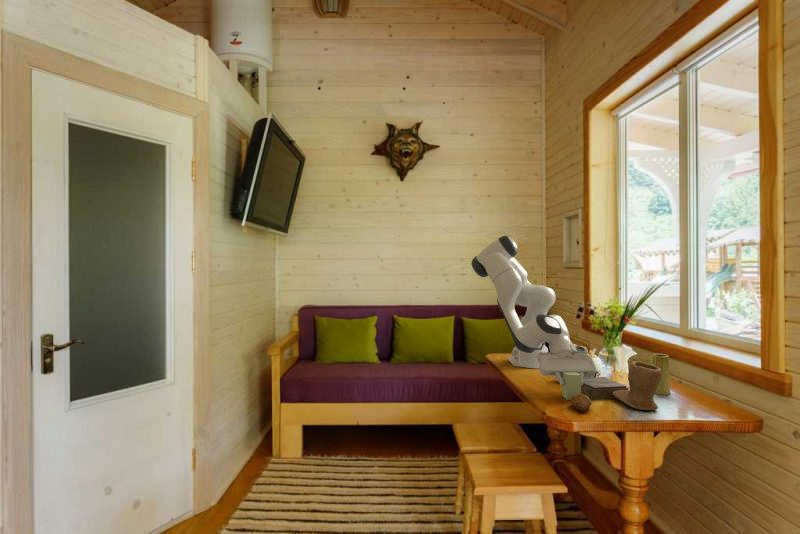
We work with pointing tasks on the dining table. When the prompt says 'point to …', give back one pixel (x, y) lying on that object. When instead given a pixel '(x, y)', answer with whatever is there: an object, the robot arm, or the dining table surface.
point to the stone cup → (641, 386)
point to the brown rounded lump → (581, 402)
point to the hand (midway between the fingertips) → (572, 384)
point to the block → (571, 384)
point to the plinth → (600, 387)
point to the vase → (663, 364)
